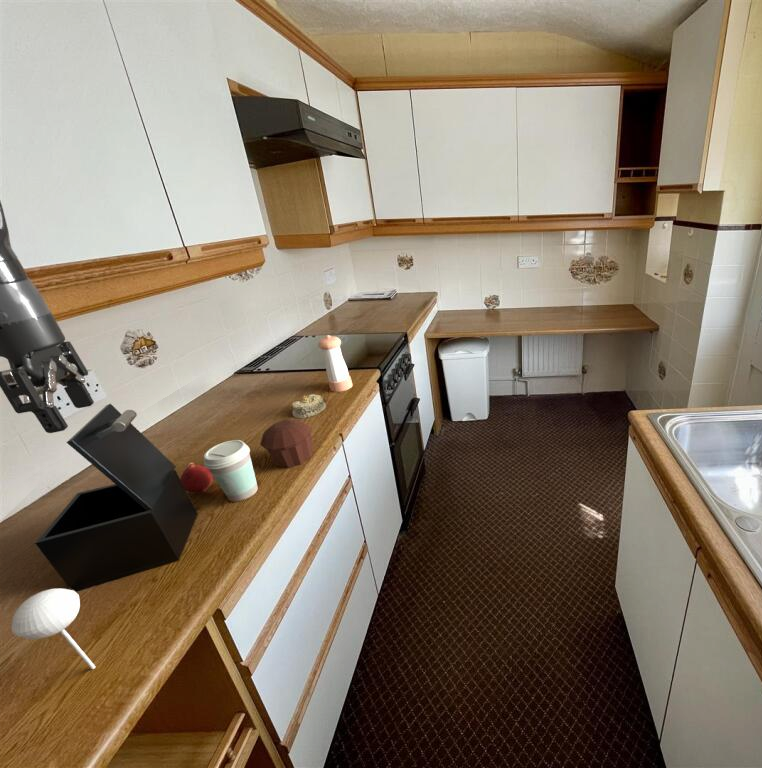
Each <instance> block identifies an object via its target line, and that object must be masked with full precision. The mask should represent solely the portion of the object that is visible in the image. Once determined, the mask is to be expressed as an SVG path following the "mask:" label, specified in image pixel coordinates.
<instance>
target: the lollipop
mask: <svg viewBox="0 0 762 768" xmlns="http://www.w3.org/2000/svg"><path fill="white" fill-rule="evenodd" d="M80 609H81V600H80V595H79V593H77V592H75V591H73V590H71V589H67V588H58V587H56V588H50V589H44V590H42V591H40V592H37V593H35V594H33V595H32V596H30V597H29V598H27V599H26V600H24V601H23V602H22V603H21V604H20V606H19V607H18V608H17V609H16V611H15V613H14V615H13V616H12V623H11V626H10V627H11V632H12V633H13V634H14V636H17V637H20V638H23V639H26V640H42V639H47V638H49V637H51V636H55V635H56V634H59V633H60V634H61V635H62V637H63V638H64V639H65V640H66V641H67V643H68V644H69V645H70V646H71V647H72V649H74V651H75V652H76V653H77V654H78V656H79V657H80V658H81V659H82V660H83V661H84V663H85V664H86V665H87V666H88V667H89V669H90V670H92V671H93V670H94V669H96V667H97V666H96V665H95V664H94V662H93V661H92V659H90V658H89V656H88V655H87V654H86V653H85V652H84V651H83V650H82V648H81V647H80V646H79V645H78V643H77V642H76V641H75V640H74V639H73V638H72V636H71V635H70V633H68V632H67V630H66V628H68V627H69V626H70V625H71V624H72V622H74V621H75V620H76V618H77V616H78V614H79V612H80Z"/></svg>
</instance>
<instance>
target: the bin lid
mask: <svg viewBox="0 0 762 768" xmlns="http://www.w3.org/2000/svg"><path fill="white" fill-rule="evenodd" d="M137 415H138V413H137V412H136V411H135V410H133V409H126V410H124V412H123V413H121V412H120V411H119V410H118V409H117V408H116V407H115V406H114V405H112V403H109V404H106V405H105V406H104V407H103V408H102V409H100V410H99V411H98V412H97V413H96V414H95V415H94V416H93V417H92V418H91V419H90V420H89V421H88V422H87V423H86V424H85V425H83V426H82V427H81V428H80V429H79V430H78V431H77V432H76V433H75V434H74V435H73V436H72V437H70V438H69V439H68V440H67V441H66V444H68V445H69V447H71V448H72V449H73V450H74V451H76V453H78V454H79V455H80V456H82V457H83V458H84V459H85V460H86V461H88V463H90V464H91V465H92V466H94V467H95V469H97V470H98V471H99V472H100V473H102V474H103V475H104V476H105V477H106V478H108V479H109V480H110V481H112V483H113V484H116V485H117V486H118V487H120V488H121V489H122V490H123V491H124V492H125V493H127V494H128V495H129V496H130V497H131V498H133V499H134V500H135V501H136V502H137V503H138V504H140V505H141V506H142V507H143V508H144V509H146V510H147V511H149V510H151V509H152V508H153V507H154V505H155V503H156V501H157V500H158V498H159V496H160V494H161V492H162V491H163V489H164V487H165V485H166V484H167V482H168V480H169V478H170V476H171V475H172V473H173V471H174V470H176V467H177V466H176V465H175V464H174V463H173V462H172V461H171V460H170V459H168V457H167V456H166V455H164V454H163V452H162V451H161V450H159V449H158V448H157V446H155V444H153V443H152V442H151V441H150V440H149V439H148V438H147V437H146V436H145V435H143V433H142V432H141V431H140V430H139V429H138V428H137V427H135V426H134V424H133V423H132V422H133V421H134V420H135V419H136V417H137Z"/></svg>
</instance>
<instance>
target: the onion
mask: <svg viewBox="0 0 762 768" xmlns="http://www.w3.org/2000/svg"><path fill="white" fill-rule="evenodd" d="M180 480H181V482H182V484H183V486H184V488H185V490H186V492H187V493H191V494H202V493H205V492H206V491H207V490H208V489H209V487H210V486H211V485H212V483H213V481H214V476H213V475H212V473H211V472H210V470H209V469H208V468H206V467H205V466H203V465H199V464H195V463H194V462H190V463H188V465H187V466H186V468H185V469H184V470H183V471H182V474H181V475H180Z"/></svg>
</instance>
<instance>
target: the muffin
mask: <svg viewBox="0 0 762 768" xmlns="http://www.w3.org/2000/svg"><path fill="white" fill-rule="evenodd" d="M261 436H262V437H261V440H260V443H259V445H260V446H261V447H262V448H263V449H265V450H266V451H267V453H268V454H269V456H270V457H271V459H272V460H273V462H274V463H275V464H276V465H277V467H278V468H286V469H290V468H293V467H296V466H300V465H303V463H305V462H306V461H308V460H311V457H312V455H313V453H314V449H313V440H312V427H311V426H309V425H308V424H306V423H305V422H303V421H301V420H298V419H297V420H295V419H284V420H280V421H277V422H276V423H274V424H272V425H270V426H269V427H268V428H267V429H266V430H265V431H263V433H262V435H261Z"/></svg>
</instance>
